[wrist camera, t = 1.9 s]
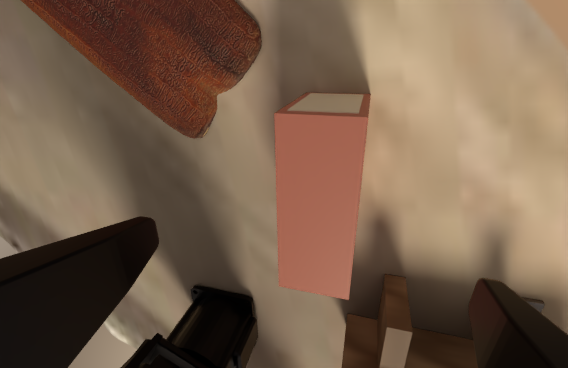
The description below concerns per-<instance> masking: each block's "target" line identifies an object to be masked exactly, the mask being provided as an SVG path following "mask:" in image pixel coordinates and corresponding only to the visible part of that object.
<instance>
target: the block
mask: <svg viewBox="0 0 568 368" xmlns="http://www.w3.org/2000/svg"><path fill="white" fill-rule="evenodd" d="M370 95H371V94H346V93H305V94H304V95H302V96H301V97H299V98H297V99H296V100H294V101H293V102H291V103H290V104H288V105H287V106H285V107H283V108H282V109H280V110H279V111H277V112H276V113H274V117H275V154H276V192H277V229H278V267H279V286H281V287H286V288H291V289H296V290H301V291H306V292H311V293H316V294H321V295H326V296H331V297H336V298H341V299H346V300H349V293H350V284H351V274H352V265H353V256H354V247H355V237H356V228H357V219H358V209H359V200H360V190H361V181H362V171H363V162H364V152H365V143H366V133H367V124H368V114H369V105H370Z"/></svg>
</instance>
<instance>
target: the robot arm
mask: <svg viewBox="0 0 568 368" xmlns="http://www.w3.org/2000/svg"><path fill="white" fill-rule="evenodd" d="M158 244H159V238H158V233H157V228H156V223H155V221H154V220H153V219H152V218H148V217H142V216H141V217H136V218H133V219H130V220H126V221H123V222H120V223H117V224H113V225H110V226H107V227H103V228H100V229H97V230H93V231H90V232H87V233H84V234H80V235H77V236H74V237H70V238H67V239H64V240H61V241H57V242H54V243H51V244H47V245H44V246H41V247H37V248H34V249H31V250H28V251H24V252H21V253H18V254H14V255H12V256H8V257H5V258H2V259H0V368H68V366H69V365H70V364H71V363H72V361H73V360H74V359H75V358H76V356H77V355H78V354H79V353H80V351H81V350H82V349H83V348H84V346H85V345H86V344H87V343H88V341H89V340H90V339H91V337H92V336H93V335H94V334H95V332H96V331H97V330H98V329H99V328H100V326H101V325H102V324H103V323H104V321H105V320H106V319H107V318H108V316H109V315H110V314H111V313H112V311H113V310H114V309H115V308H116V306H117V305H118V304H119V302H120V301H121V300H122V299H123V297H124V296H125V295H126V294H127V292H128V291H129V290H130V288H131V287H132V285H133V284H134V282H135V281H136V279H137V278H138V276H139V275H140V273H141V272H142V270H143V269H144V267H145V266H146V264H147V263H148V261H149V260H150V258H151V257H152V255H153V254H154V252H155V251H156V249H157V247H158ZM191 294H192V299H193V303H192V304H191V306H190V307H189V308H188V310H187V311H186V313H185V314H184V315H183V317H182V318H181V320H180V321H179V322H178V324H177V325H176V326H175V328H174V329H173V331H172V332H171V333H170V335H169V336H168V338H167V339H165V338H163V336H162V335H161V334H159V333H157V334H156V335H155V336H154V337H153V338H152V340H150V339H145V341H144V342H143V343H142V344H141V346H140V347H139V348H138V349H137V351H136V352H135V353H134V355H133V356H132V357H131V358H130V359H129V360H128V361H127V362H126V363H125V364H124V365H123V366H122V367H121V368H245V367H246V365H247V362H248V360H249V357H250V355H251V352H252V350H253V348H254V346H255V344H256V340H257V338H258V331H257V320H256V318H255V316H254V303H253V299H252V298H250V297H248V296H243V295H239V294H234V293H229V292H225V291H220V290H215V289H211V288H206V287H201V286H194V287H193V288H192V289H191ZM469 317H470V323H471V329H472V336H473V342H474V348H475V354H476V360H477V366H478V368H568V334H566V333H565V332H564V331H563V330H561V329H560V328H559V327H558V326H556V325H555V324H554V323H553V322H551V321H550V320H549V319H548V318H546V317H545V316H544V315H543V314H541V313H540V312H539V311H538V310H536V309H535V308H534V307H533V306H531V305H530V304H529V303H528V302H526V301H525V300H524V299H523V298H521V297H520V296H519V295H518V294H516V293H515V292H514V291H513V290H511V289H510V288H509V287H508V286H506V285H505V284H504V283H503V282H501V281H498V280H493V279H488V278H480V279H479V280H478V281H477V284H476V286H475V289H474V292H473V294H472V297H471V300H470V302H469Z"/></svg>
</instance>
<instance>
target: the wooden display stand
mask: <svg viewBox="0 0 568 368" xmlns="http://www.w3.org/2000/svg"><path fill="white" fill-rule="evenodd" d="M342 368H478V366H477V360H476V354H475V348H474V342H473V340H470V339H466V338H461V337H456V336H451V335H446V334H442V333H437V332H432V331H427V330H423V329H418V328H413V327H412V325H411V317H410V309H409V302H408V294H407V286H406V278H405V277H399V276H393V275H387V274H385V277H384V283H383V289H382V295H381V301H380V307H379V313H378V319H377V320H375V319H370V318H366V317H361V316H356V315H351V314H347V323H346V332H345V342H344V351H343V360H342Z"/></svg>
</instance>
